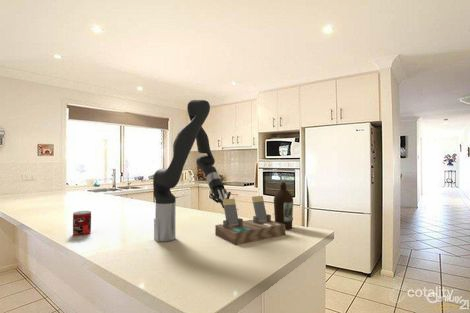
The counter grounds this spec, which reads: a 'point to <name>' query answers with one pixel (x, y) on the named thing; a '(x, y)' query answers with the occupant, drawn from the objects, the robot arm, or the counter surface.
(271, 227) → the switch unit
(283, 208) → the olive oil
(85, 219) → the canned food
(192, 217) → the counter surface
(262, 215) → the far lever
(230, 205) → the near lever
